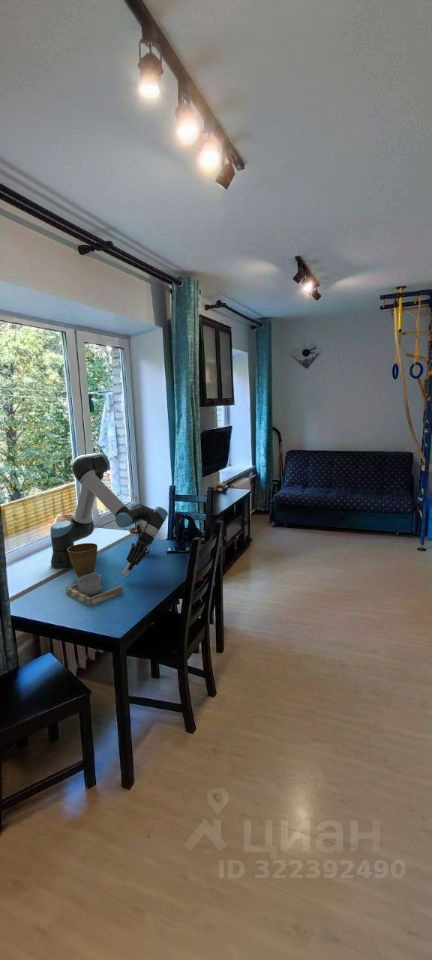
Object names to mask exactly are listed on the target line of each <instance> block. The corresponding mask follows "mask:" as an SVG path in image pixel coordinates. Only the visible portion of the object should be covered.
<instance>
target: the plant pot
mask: <svg viewBox="0 0 432 960" xmlns="http://www.w3.org/2000/svg"><path fill="white" fill-rule="evenodd" d="M67 550H68V554H69V558H70V561H71V564H72V566H71V567H72V569H73V571H74V572H75V574H76V576H77V579H78V578H80V577H82V576H84V575H87V574H92V573H93V572H95V571H96V570H95V569H96V566H97V559H98V543H97V544H96V543H93V542H90V543H89V542H87V543H85V542H84V543H83V542H82V543H78V544H74V546H71V547H69V548H68V549H67Z"/></svg>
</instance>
